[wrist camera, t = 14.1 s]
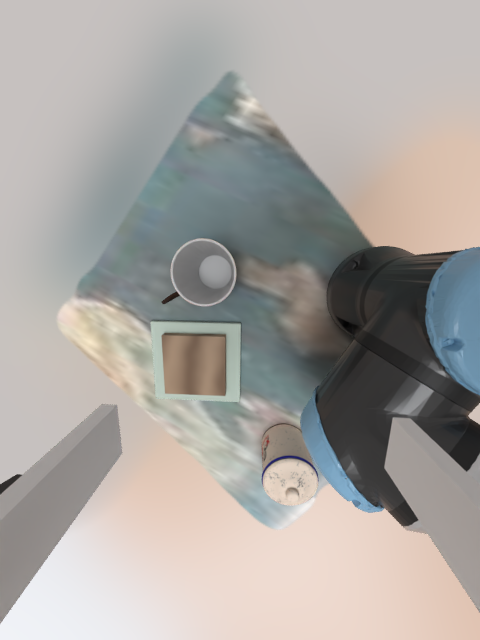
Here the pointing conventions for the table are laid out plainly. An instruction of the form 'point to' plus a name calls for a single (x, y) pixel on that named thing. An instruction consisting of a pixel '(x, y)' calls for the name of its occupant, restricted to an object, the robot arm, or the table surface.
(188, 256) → the coffee mug
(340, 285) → the robot arm
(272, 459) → the teacup with lid
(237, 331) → the sage mat
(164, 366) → the walnut lid
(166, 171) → the table surface
